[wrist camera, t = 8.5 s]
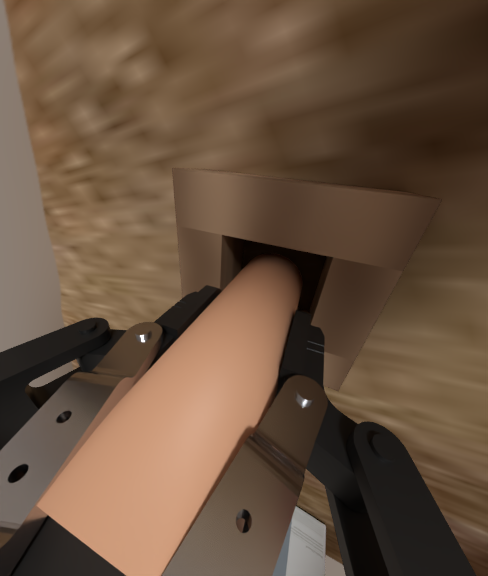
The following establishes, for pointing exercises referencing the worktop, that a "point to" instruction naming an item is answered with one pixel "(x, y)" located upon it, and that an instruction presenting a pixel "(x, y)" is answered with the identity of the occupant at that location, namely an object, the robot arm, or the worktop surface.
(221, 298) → the peg
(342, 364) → the socket block
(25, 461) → the robot arm
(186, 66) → the worktop surface
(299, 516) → the supplement box
